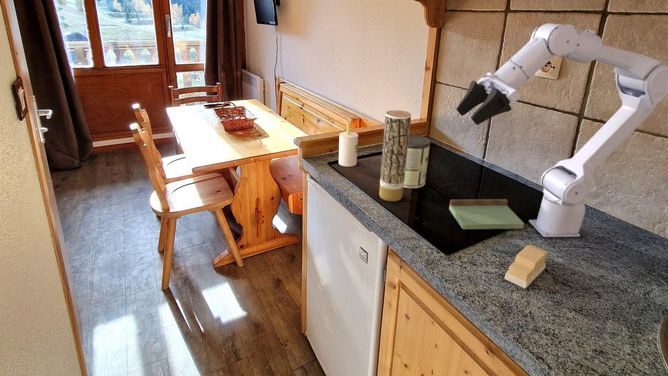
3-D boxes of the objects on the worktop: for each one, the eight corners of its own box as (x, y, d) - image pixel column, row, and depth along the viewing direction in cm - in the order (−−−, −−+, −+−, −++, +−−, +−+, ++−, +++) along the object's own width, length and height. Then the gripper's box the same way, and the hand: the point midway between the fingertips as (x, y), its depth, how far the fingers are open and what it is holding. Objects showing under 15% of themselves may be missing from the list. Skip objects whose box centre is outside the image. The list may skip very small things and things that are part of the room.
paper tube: (403, 202, 115) (413, 117, 105) (379, 202, 115) (387, 116, 105) (400, 192, 122) (409, 110, 111) (377, 191, 122) (384, 110, 111)
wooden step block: (524, 260, 91) (529, 242, 89) (544, 269, 88) (549, 251, 86) (504, 278, 85) (508, 260, 83) (525, 288, 82) (530, 269, 80)
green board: (504, 208, 114) (506, 199, 113) (523, 228, 104) (525, 218, 103) (448, 209, 113) (450, 199, 111) (462, 229, 103) (464, 219, 102)
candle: (351, 168, 138) (353, 125, 132) (335, 164, 141) (336, 122, 135) (360, 162, 143) (362, 121, 137) (344, 158, 146) (345, 118, 140)
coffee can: (392, 174, 134) (395, 133, 128) (423, 176, 133) (428, 135, 127) (393, 187, 125) (397, 144, 119) (426, 189, 124) (432, 146, 118)
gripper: (490, 52, 90) (442, 96, 92) (526, 61, 77) (470, 112, 79) (506, 76, 92) (460, 117, 95) (544, 88, 79) (489, 136, 82)
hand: (466, 116), depth 87 cm, fingers open, 7 cm apart
